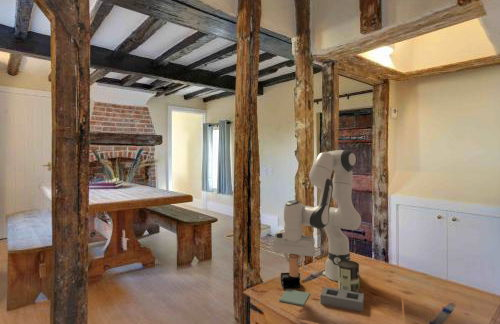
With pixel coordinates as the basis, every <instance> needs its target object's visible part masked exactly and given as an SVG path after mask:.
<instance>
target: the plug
mask: <svg viewBox="0 0 500 324" xmlns="http://www.w3.org/2000/svg"><path fill="white" fill-rule="evenodd" d="M288 257H289V262H288V264H289V266H288V267H289V269H288V270H289V272H288V273H289V275H290V276H291V277H298V276H299V273H300V270H299V264H298V259H299V255H296V254H289V253H288Z"/></svg>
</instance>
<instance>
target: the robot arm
mask: <svg viewBox="0 0 500 324" xmlns="http://www.w3.org/2000/svg"><path fill="white" fill-rule="evenodd" d="M356 164H357V156H356V153H355V152H354V151H352V150H350V149H336V150H331V151H322V152H320V153H319V154H318V155H317V157H316V158H315V160H314V162H313V163H312V165H311V168H310V171H309V172H308V173H309V174H308V178H309V181H310V183H311V184H312V185H313V186H314V187H315V188H317V189H319V190H320V196H319V200H318V201H319V202H318V205H317V206H311V205H305V204H303V203H301V201H300V200H297V199H294V200H287V202H284V203H285V204H284V207H283V221H284V226H283V229H282V230H281V229H280V230H278V231H277V232H275V233H274V237H275V238H274V239H273V243H272V249H273V251H274V252H275V253H280V254H281V253H283V256H284V257H285V262H286V263H289V254H296V255H298V256H299V257H300V258H298V265H301V264H302V263H303V262H302V260H303V258H304V257H313V256H314V255H316V251H315V250H316V249H315V243H316V241H315V238H314V237H312V235H305V234H303V225H304V226H305V227H312V228H314V229H317V230H323V229H324V231H325V234H326V236H327V240H328V241H327V242H328V251H327V259H326V260H325V270H323V272H322V275H323V276H325V277H326V278H328V280H330V281H331V280H332V281H334V282H338V262H339V261H343V260H349V261H352V260H351V252H350V240H349V237H348V236H347V235H346V234H345V233H344V232H343V231H342V229H343V230H347V231H348V230H357V229H358V228H359V227H361V224H362V217H361V214H360V213H359V212H358V211H357V210H356V208H355V207H354V204H353V201H352V195H353V194H352V192H353V191H352V190H353V183H354V181H353V179H354V178H353V177H354V176H353V175H354V174H353V169H354V167H355V166H356ZM333 171H334V173H333ZM332 174H333V178H332V180H331V177H332ZM332 199H333V201H336V202H337V207H331V203H332Z"/></svg>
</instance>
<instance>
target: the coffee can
mask: <svg viewBox="0 0 500 324" xmlns="http://www.w3.org/2000/svg"><path fill="white" fill-rule="evenodd" d="M337 282H338V284H337V285H338V289H341V290H347V291H353V292H359V293H360V264H359V262H356V261H354V260H351V261H349V260H343V261H339V262H338V281H337Z"/></svg>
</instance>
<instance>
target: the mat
mask: <svg viewBox="0 0 500 324" xmlns="http://www.w3.org/2000/svg"><path fill="white" fill-rule="evenodd" d="M310 296H311V293H310V292H307V291H300V290H297V289H285V291H284V292H283V294H282V295H281V297H280V298H279V299H278V302H282V303H285V304H291V305H295V304H296V306H300V307H305V304H306V303H307V301H308V300H309V298H310Z"/></svg>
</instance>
